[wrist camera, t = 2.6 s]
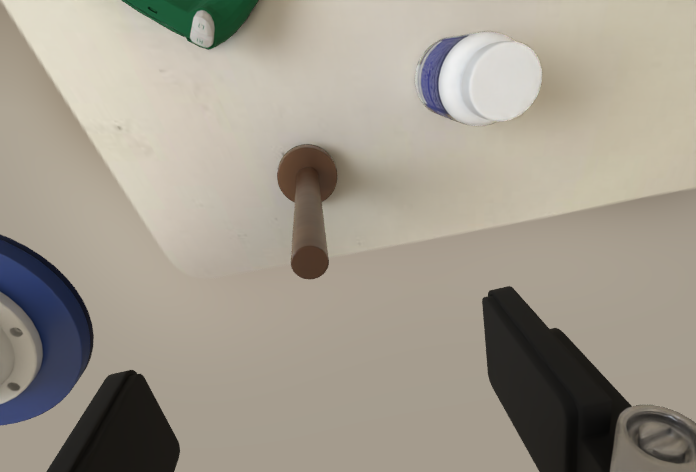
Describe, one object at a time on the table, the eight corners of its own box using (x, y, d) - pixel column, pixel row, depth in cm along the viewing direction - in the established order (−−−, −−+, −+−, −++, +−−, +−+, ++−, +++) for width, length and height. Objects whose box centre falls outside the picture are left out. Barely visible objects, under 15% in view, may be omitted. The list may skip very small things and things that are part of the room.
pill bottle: (419, 122, 31) (461, 144, 22) (408, 46, 28) (450, 40, 20) (488, 105, 31) (555, 121, 22) (482, 28, 28) (554, 15, 20)
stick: (286, 206, 32) (273, 317, 18) (271, 151, 30) (243, 228, 16) (341, 194, 32) (370, 295, 18) (329, 138, 30) (350, 203, 16)
